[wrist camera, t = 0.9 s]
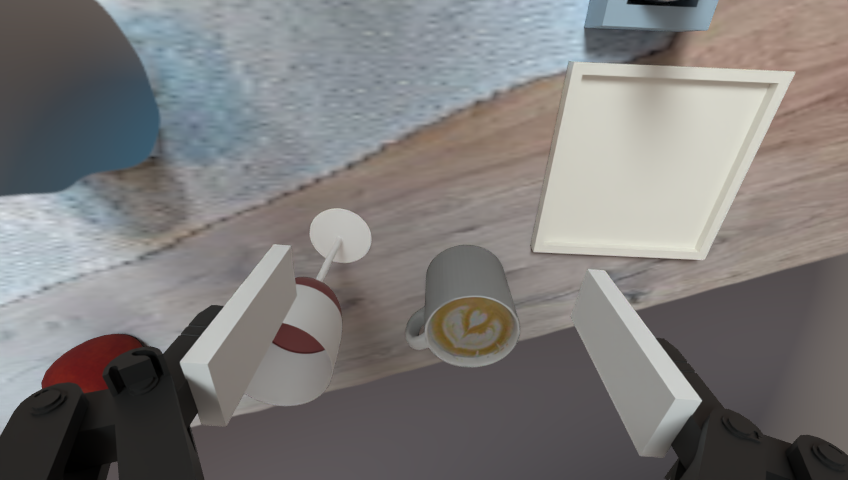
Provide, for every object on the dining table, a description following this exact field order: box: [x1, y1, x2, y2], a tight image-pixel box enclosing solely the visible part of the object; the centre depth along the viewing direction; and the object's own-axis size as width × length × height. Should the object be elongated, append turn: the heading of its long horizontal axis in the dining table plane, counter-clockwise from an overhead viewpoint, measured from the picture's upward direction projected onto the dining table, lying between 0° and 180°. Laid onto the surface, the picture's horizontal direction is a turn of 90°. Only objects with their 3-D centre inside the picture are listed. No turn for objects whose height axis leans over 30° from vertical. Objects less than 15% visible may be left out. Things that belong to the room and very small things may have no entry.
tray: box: [530, 61, 795, 260], centre depth 38 cm, size 20×20×2 cm
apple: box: [41, 334, 142, 393], centre depth 49 cm, size 10×10×10 cm
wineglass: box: [244, 208, 372, 406], centre depth 35 cm, size 8×9×20 cm
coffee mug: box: [405, 245, 520, 367], centre depth 42 cm, size 13×10×10 cm
